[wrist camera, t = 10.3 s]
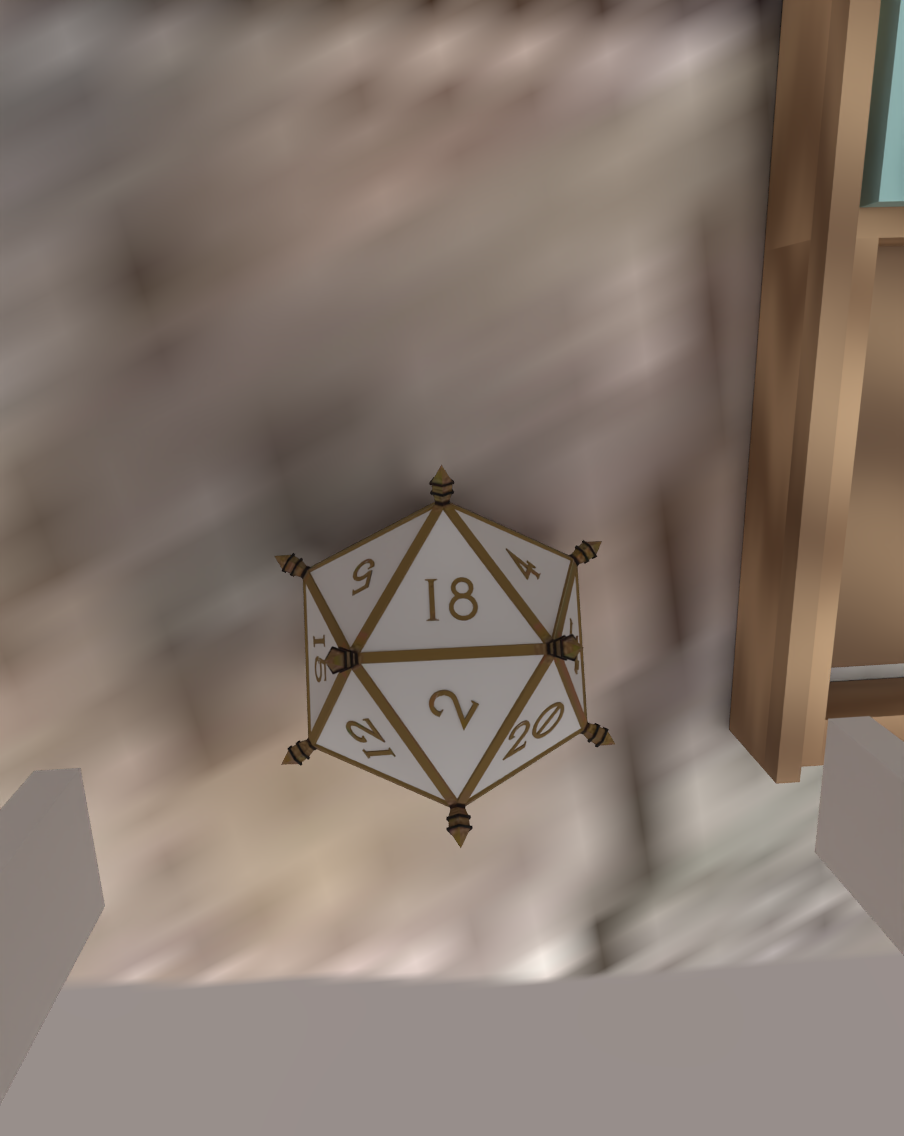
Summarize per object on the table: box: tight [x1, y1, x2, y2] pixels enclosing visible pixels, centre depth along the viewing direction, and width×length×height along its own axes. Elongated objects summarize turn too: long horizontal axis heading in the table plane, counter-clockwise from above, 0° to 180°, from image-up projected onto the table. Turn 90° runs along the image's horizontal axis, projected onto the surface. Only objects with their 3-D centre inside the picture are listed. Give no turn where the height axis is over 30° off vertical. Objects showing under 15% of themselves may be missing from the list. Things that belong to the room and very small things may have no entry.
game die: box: [275, 465, 615, 848], centre depth 20 cm, size 9×8×10 cm
